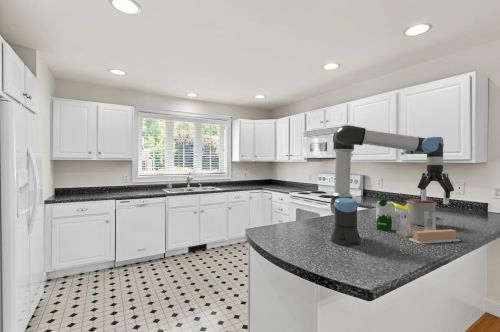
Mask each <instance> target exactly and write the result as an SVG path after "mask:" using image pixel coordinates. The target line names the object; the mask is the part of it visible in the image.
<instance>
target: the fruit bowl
mask: <svg viewBox="0 0 500 332" xmlns="http://www.w3.org/2000/svg"><path fill="white" fill-rule="evenodd" d="M391 202H392V206H394V210H395V213H396V214H399V215H400V213H404V217H406V214H409V213H408V204H407V203H406V204H405V205H401V204H399V203H396V202H393V201H391Z"/></svg>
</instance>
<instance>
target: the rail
mask: <svg viewBox="0 0 500 332" xmlns="http://www.w3.org/2000/svg"><path fill="white" fill-rule="evenodd" d="M412 238H413V240H416V241H428V240H443V239H457V230H455V229H436V230H431V231H413V237H412Z"/></svg>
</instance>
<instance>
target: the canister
mask: <svg viewBox="0 0 500 332" xmlns="http://www.w3.org/2000/svg"><path fill="white" fill-rule="evenodd" d="M405 202H406V204H408V213H409V214H411V225H412V224H413V225H415V226H423V227H424V212H429V217H431V213H435V210H436V205H437V202H436V201H435V200H432V199H428V198H426V201H421V194H420V195H418V196H417V198H409V199H407V200H406V201H405Z"/></svg>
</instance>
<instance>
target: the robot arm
mask: <svg viewBox="0 0 500 332" xmlns="http://www.w3.org/2000/svg"><path fill="white" fill-rule="evenodd" d="M332 143H333V146H332V147H333V151H334V152H335V167H334V171H335V172H334V192H332V194H331V202H330V211H331V212H332V214H333V215H334V220H333V221H334V225H333V226H334V227H333V229H332V233H331V236H330V241H331V242H332V243H334V244H336V245H340V246H346V247H348V246H349V247H352V246H353V247H354V246H359V245H361V237H360V234H359V231H358V202H357V200H355V199H353V195H352V194H351V165H352V160H351V159H352V153H353V151H354V150H355V145H356V146H363V145H370V146H377V147H382V148H383V147H384V148H390V149H398V150H402V151H403V153H404V154H406V155H426V164H427V165H426V172H422V175H421V178H420V181H419V183H418V185H417V189H420V195H421V201H426V199H427V187H428V186H429V185H430V183H431V182H437V183H438V184H439V185H440V187H441V188H442V189H443V190H444V191H443V193H442V194H443V195H442V196H443V197H442V198H443V201H442V203H443V205H449V204H450V199H451V193H452V192H454V191H455V189H454V186H453V184H452V182H451V180H450V178H449V173H446V172H445V173H443V171H444V165H443V164H444V145H445V144H444V138H443V137H442V136H430V137H421V136H412V135H404V134H398V133H397V134H396V133H390V132H384V131H376V130H369V129H367V128H366V127H361V126H356V125H349V124H346V125H342V126H340V127H339V128H337V129H336V130H335V132H334V133H333V136H332Z"/></svg>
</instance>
